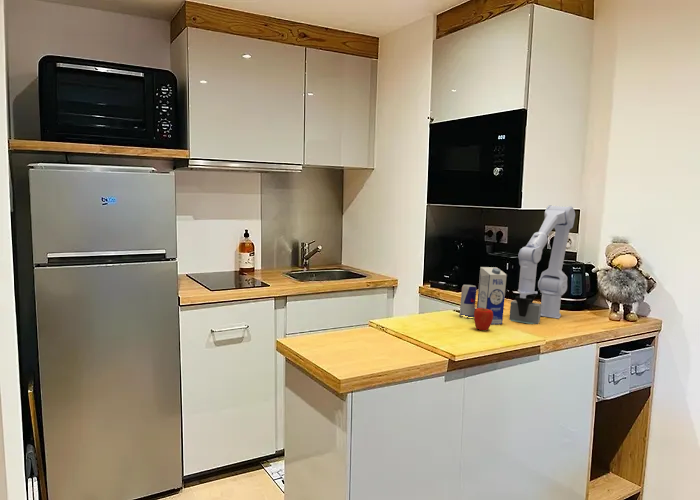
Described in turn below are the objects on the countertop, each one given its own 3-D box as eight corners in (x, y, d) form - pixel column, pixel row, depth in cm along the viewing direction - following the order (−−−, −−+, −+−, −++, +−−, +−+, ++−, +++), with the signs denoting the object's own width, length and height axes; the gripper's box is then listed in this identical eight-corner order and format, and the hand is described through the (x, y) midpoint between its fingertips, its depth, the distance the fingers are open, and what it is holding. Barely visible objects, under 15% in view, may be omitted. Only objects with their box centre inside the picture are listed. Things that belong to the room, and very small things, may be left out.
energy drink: (474, 319, 193) (477, 287, 192) (459, 317, 194) (462, 286, 193) (473, 316, 199) (476, 285, 198) (459, 314, 200) (462, 284, 199)
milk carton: (491, 320, 194) (496, 266, 192) (502, 324, 188) (507, 269, 186) (475, 320, 192) (480, 266, 190) (485, 324, 185) (490, 268, 184)
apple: (493, 329, 178) (495, 308, 178) (490, 333, 173) (492, 310, 172) (474, 326, 181) (476, 305, 180) (471, 330, 175) (472, 308, 175)
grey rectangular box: (512, 317, 201) (513, 300, 201) (539, 321, 197) (541, 303, 196) (509, 319, 196) (510, 302, 196) (537, 324, 191) (539, 306, 191)
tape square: (514, 317, 202) (514, 316, 202) (536, 320, 198) (536, 320, 198) (510, 320, 195) (510, 320, 195) (532, 324, 191) (533, 323, 191)
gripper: (535, 282, 187) (532, 319, 188) (541, 278, 200) (538, 313, 201) (515, 279, 190) (512, 316, 191) (522, 276, 203) (519, 310, 204)
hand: (524, 314), depth 196 cm, fingers open, 7 cm apart
